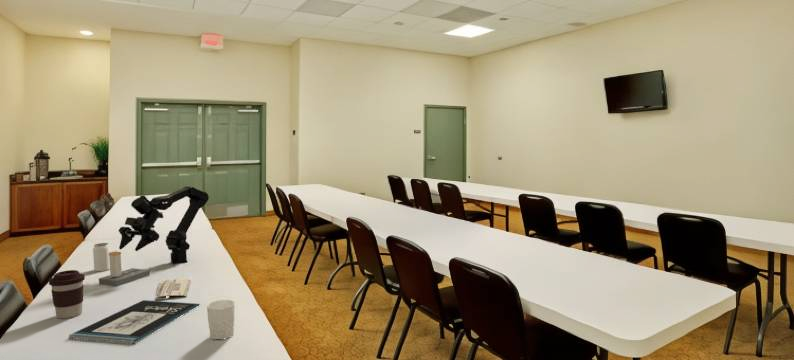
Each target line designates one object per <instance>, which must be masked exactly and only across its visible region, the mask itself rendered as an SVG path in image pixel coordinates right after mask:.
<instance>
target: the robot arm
mask: <svg viewBox="0 0 794 360" xmlns="http://www.w3.org/2000/svg"><path fill="white" fill-rule="evenodd" d="M184 198H188V199H189V206H188V208H187V209H186V211H185V213H184V215H183V216H182V218H181V219H180V221H179V223H178V225H177V228H176V229H173V230H170V231H168V234H167V236H165V244H166V247H167V249H168V251H171V252H170V262H171V263H172V265H175V264H182V263H188V258H187V251H188V250H190V246H191V245H190V243H188V242H187V239H188V237H187V232H188V231H189V229H190V227H191V225H192V223H193V221H194V219H195V218H196V215H197V214H198V213H199V210H200V209H201V208H203V207H204V206H205V205H206V204H207V203H208V202H209V199H210V197H209V194H208V193H207V192H206V191H203V190H199V189H198V188H195V187H194V186H190V185H189V186H188V185H187V186H183V187H182V188H180V189H177V190H176V191H173V192H171V193H169V194H166V195H161V196H156V197H153V198H152V199H151V200H149V199H148V198H147V197H146V196H145V195H140V196H139V197H138V198H136V199H134V200H132V201H131V204H130V205H131V207H132V208H133V209H134V210H136V212H137V213H138V214H140V215H143V216H137V217H136V218H135V217H128V216H127V217H126V219H125V222H124V225H125V226H121V227H119V229H118V232H119V234H120V235H121V238H120V242H119V243H120V244H119V247H118V248H119V250H122V249H124V248H125V247H126V246H128V245H129V244H130V242H132V241H133V240H134V238H135V237H136V236H139V237H140V239H139V241H138V242H137V245H136V246H135V248H134V251H135V252H138V251H140V250H142V249H143V248H145V247H147V246H148V245H150V244H152V243H155V242H158V240H159V239H160V234H159V233H158V232H157V231H156V230H155V229H154V228H155V227H156V226H155V223H156V222H157V220H158V219H163V218H164V214H163V212H160V211H166V210H168V209H169V208H170V207H172V206H173V204H175V203H176V202H178V201H180V200H182V199H184Z"/></svg>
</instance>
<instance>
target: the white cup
mask: <svg viewBox="0 0 794 360" xmlns="http://www.w3.org/2000/svg"><path fill="white" fill-rule="evenodd" d="M206 310H207V321H208V328H209V337H211V338H213V339H224V338H227V339H229V338H228V337H230V336H231V337H233V336H234V329H235V328H234V327H235V301H233V300H231V299H220V300H215V301H212V302H210V303H207V305H206ZM232 335H233V336H232ZM231 337H230V338H231ZM211 338H210V339H211ZM213 339H212V340H213ZM224 340H225V339H224Z"/></svg>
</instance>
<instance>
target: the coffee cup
mask: <svg viewBox="0 0 794 360" xmlns="http://www.w3.org/2000/svg"><path fill="white" fill-rule="evenodd" d="M84 280H86V279H85V274H84V273H80V271H79V270H77V269H74V270H73V269H70V270H64V271H63V270H62V271H59V272H56V273H55V274H54V275H53V277H51V278H49V279H48V285H49V286H51V296H52V302H53V307H54V310H55V316H56V318H57V317H58V319H60V318H65V319H71V318H75V317H77V316H79V315H81V314H82V313H83V302H84V283H83V282H84ZM70 317H71V318H70Z"/></svg>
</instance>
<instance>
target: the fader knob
mask: <svg viewBox="0 0 794 360" xmlns="http://www.w3.org/2000/svg"><path fill="white" fill-rule="evenodd" d="M121 254H122V252H121V251H110V253H109V259H110V269H109V271H110V273H109V275H111V276H112V277H118V276H121V275H122V271H123V270H122V258H121V257H122V255H121Z"/></svg>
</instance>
